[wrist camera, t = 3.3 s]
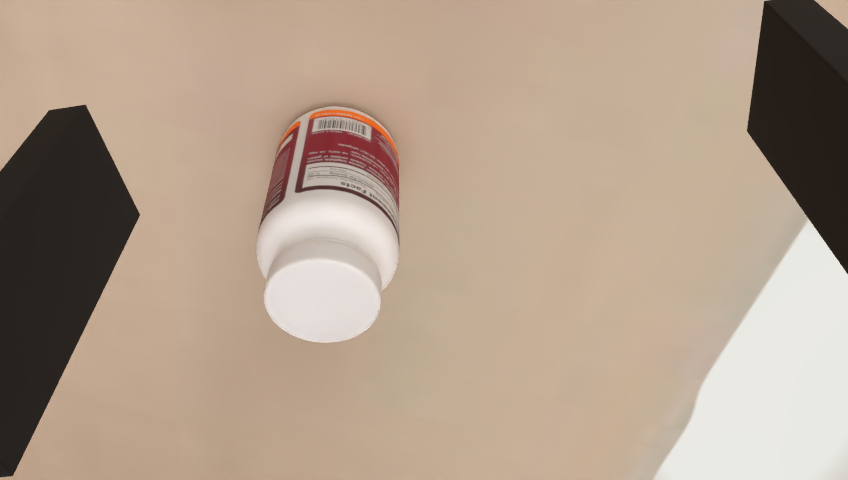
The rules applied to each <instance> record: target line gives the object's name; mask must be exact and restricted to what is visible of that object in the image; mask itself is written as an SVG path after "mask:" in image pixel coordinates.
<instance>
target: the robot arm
mask: <svg viewBox="0 0 848 480" xmlns="http://www.w3.org/2000/svg"><path fill="white" fill-rule="evenodd" d="M747 132H748V133H749V135H750V136H751V137H752V139H753V140H754V142H755V143H756V145H757V146H758V147H759V149H760V150H761V152H762V153H763V154H764V156H765V157H766V159H767V160H768V162H769V163H770V164H771V166H772V167H773V169H774V170H775V171H776V173H777V174H778V176H779V177H780V179H781V180H782V181H783V183H784V184H785V186H786V187H787V189H788V190H789V191H790V193H791V194H792V196H793V197H794V198H795V200H796V201H797V203H798V204H799V206H800V207H801V208H802V210H803V211H804V213H805V214H806V215H807V217H808V218H809V220H810V221H811V222H812V224H813V225H814V227H815V228H816V230H817V231H818V232H819V234H820V235H821V237H822V238H823V240H824V241H825V242H826V244H827V245H828V247H829V248H830V250H831V251H832V252H833V254H834V255H835V257H836V258H837V259H838V261H839V262H840V264H841V265H842V266H843V268H844V269H845V271H846V272H847V274H848V29H847V28H846V27H845V26H844V25H842V24H841V23H840V22H839V21H838V20H837V19H835V18H834V17H833V16H832V15H831V14H830V13H828V12H827V11H826V10H825V9H824V8H823V7H821V6H820V5H819V4H818V3H817V2H816V1H814V0H769V1H764V8H763V15H762V23H761V30H760V38H759V45H758V53H757V60H756V68H755V75H754V83H753V90H752V98H751V105H750V113H749V120H748V128H747ZM139 216H140V214H139V212H138V210H137V208H136V206H135V204H134V202H133V200H132V198H131V196H130V194H129V192H128V190H127V188H126V186H125V184H124V182H123V180H122V178H121V176H120V173H119V171H118V169H117V167H116V165H115V163H114V161H113V159H112V157H111V155H110V153H109V151H108V149H107V147H106V145H105V143H104V141H103V139H102V137H101V135H100V133H99V131H98V129H97V127H96V125H95V123H94V121H93V119H92V117H91V115H90V113H89V111H88V109H87V107H86V105H81V106H74V107H68V108H61V109H55V110H49V111H48V112H47V114H46V115H45V116H44V117H43V119H42V120H41V121H40V122H39V124H38V125H37V126H36V127H35V129H34V130H33V131H32V133H31V134H30V135H29V136H28V138H27V139H26V140H25V141H24V143H23V144H22V145H21V146H20V148H19V149H18V150H17V151H16V153H15V154H14V155H13V156H12V158H11V159H10V160H9V161H8V163H7V164H6V165H5V166H4V168H3V169H2V170H1V171H0V477H7V476H13V474H14V472H15V470H16V468H17V466H18V464H19V462H20V460H21V458H22V456H23V454H24V452H25V450H26V448H27V446H28V444H29V442H30V440H31V437H32V435H33V433H34V431H35V429H36V427H37V425H38V423H39V421H40V419H41V417H42V415H43V413H44V411H45V409H46V407H47V405H48V403H49V401H50V398H51V396H52V394H53V392H54V390H55V388H56V386H57V384H58V382H59V380H60V378H61V376H62V374H63V372H64V370H65V368H66V366H67V364H68V362H69V360H70V357H71V355H72V353H73V351H74V349H75V347H76V345H77V343H78V341H79V339H80V337H81V335H82V333H83V331H84V329H85V327H86V325H87V323H88V321H89V318H90V316H91V314H92V312H93V310H94V308H95V306H96V304H97V302H98V300H99V298H100V296H101V294H102V292H103V290H104V288H105V286H106V284H107V282H108V279H109V277H110V275H111V273H112V271H113V269H114V267H115V265H116V263H117V261H118V259H119V257H120V255H121V253H122V251H123V249H124V247H125V245H126V243H127V240H128V238H129V236H130V234H131V232H132V230H133V228H134V226H135V224H136V222H137V220H138V218H139Z"/></svg>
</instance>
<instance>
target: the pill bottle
mask: <svg viewBox="0 0 848 480" xmlns="http://www.w3.org/2000/svg"><path fill="white" fill-rule="evenodd" d="M256 256H257V262H258V265H259V268H260V270H261V273H262V275H263V276H264V278H265V280H266V285H265V289H264V303H265V308H266V310H267V312H268V314H269V316H270V317H271V319H272V320H273V321H274V322H275V323H276V324H277V325H278V326H279V327H280V328H281V329H283V330H284V331H286V332H287V333H289V334H291V335H293V336H295V337H297V338H300V339H303V340H307V341H311V342H318V343H333V342H341V341H345V340H348V339H351V338H354V337H356V336H358V335H360V334H361V333H363V332H364V331H366V330H367V329H368V328H369V327H370V326H371V325H372V324H373V323H374V321H375V320H376V318H377V316H378V314H379V311H380V305H381V294H382V291H383V290H384V289H385V288H386V287H387V285H388V284H389V283H390V281H391V280H392V278H393V276H394V274H395V271H396V269H397V265H398V259H399V160H398V153H397V149H396V146H395V143H394V141H393V139H392V137H391V136H390V134H389V133H388V131H387V130H386V129H385V128H384V127H383V126H382V125H381V124H380V123H379V122H378V121H377V120H375V119H374V118H372V117H371V116H369V115H367V114H365V113H363V112H361V111H358V110H355V109H352V108H347V107H337V106H331V107H324V108H319V109H316V110H313V111H310V112H308V113H306V114H304V115H302V116H301V117H299V118H298V119H296V120H295V121H294V122H293V123H292V124H291V125H290V126H289V128H288V129H287V130H286V131H285V133H284V135H283V136H282V138H281V141H280V144H279V146H278V149H277V153H276V158H275V163H274V167H273V171H272V176H271V180H270V185H269V189H268V193H267V198H266V202H265V205H264V210H263V215H262V219H261V223H260V227H259V231H258V236H257V243H256Z"/></svg>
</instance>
